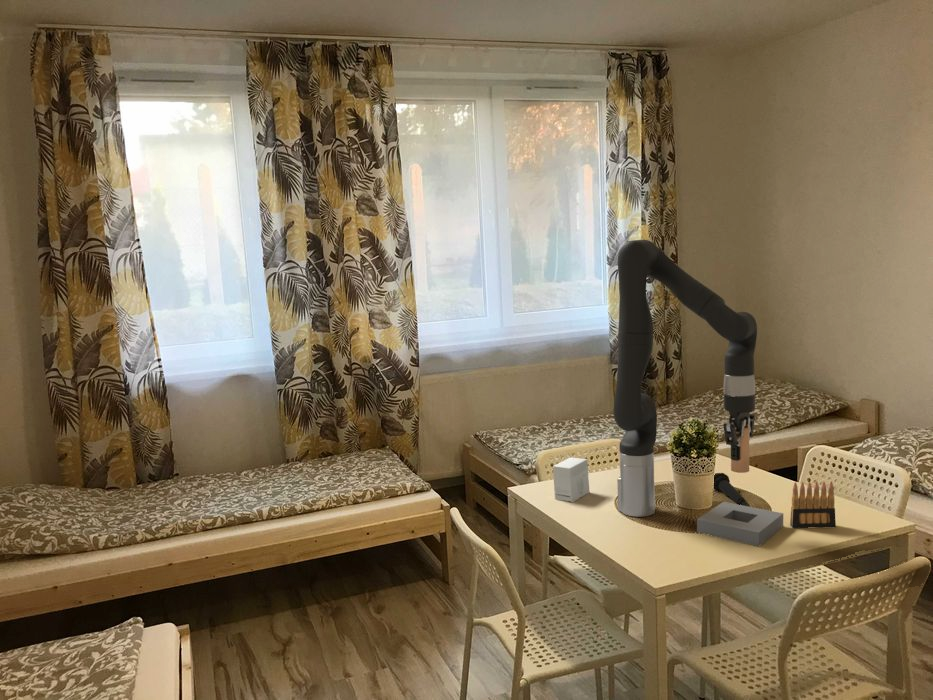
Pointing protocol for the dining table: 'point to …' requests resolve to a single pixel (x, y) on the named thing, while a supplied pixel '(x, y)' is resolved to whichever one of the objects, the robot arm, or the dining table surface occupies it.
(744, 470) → the peg
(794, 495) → the ammunition clip
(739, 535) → the socket block
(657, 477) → the dining table surface
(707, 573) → the dining table surface
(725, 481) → the microphone
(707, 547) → the dining table surface
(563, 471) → the skincare box
